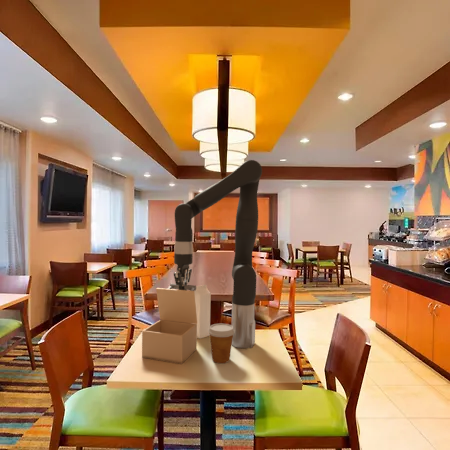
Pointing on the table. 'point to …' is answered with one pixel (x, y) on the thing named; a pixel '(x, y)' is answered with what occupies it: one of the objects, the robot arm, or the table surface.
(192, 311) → the carton flap
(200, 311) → the milk
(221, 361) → the disposable coffee cup
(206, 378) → the table surface
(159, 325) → the carton
